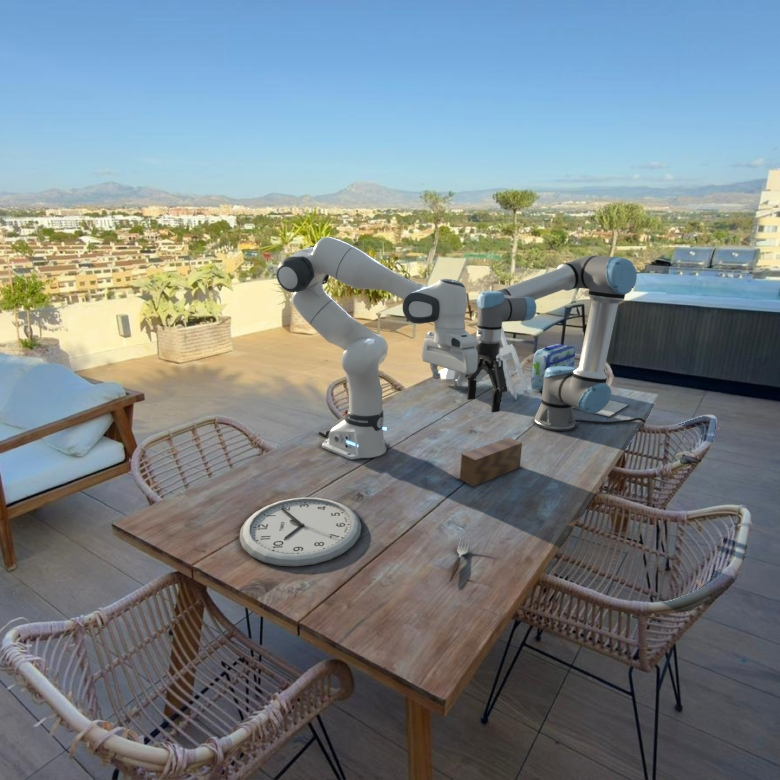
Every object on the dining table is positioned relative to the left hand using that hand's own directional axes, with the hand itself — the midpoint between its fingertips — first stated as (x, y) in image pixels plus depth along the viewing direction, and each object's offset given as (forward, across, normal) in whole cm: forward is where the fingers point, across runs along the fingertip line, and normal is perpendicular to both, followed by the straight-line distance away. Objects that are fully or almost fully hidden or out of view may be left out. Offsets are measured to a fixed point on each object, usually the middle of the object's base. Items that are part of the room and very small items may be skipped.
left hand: (446, 382), depth 156 cm
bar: (+29, +10, +11) cm, 33 cm away
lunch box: (+29, -33, +104) cm, 113 cm away
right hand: (+11, -1, +18) cm, 21 cm away
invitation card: (+29, -4, +99) cm, 103 cm away
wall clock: (+29, +4, -52) cm, 60 cm away
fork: (+29, +37, -30) cm, 56 cm away
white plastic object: (+29, -49, +70) cm, 91 cm away
